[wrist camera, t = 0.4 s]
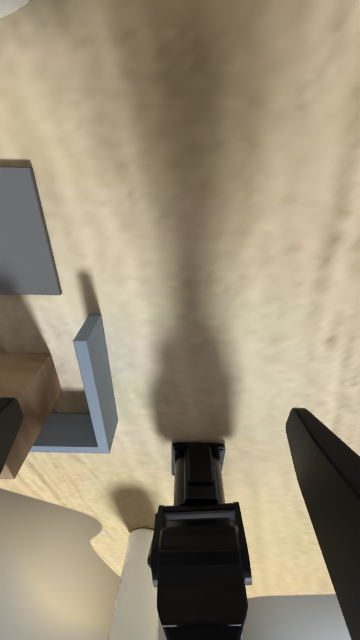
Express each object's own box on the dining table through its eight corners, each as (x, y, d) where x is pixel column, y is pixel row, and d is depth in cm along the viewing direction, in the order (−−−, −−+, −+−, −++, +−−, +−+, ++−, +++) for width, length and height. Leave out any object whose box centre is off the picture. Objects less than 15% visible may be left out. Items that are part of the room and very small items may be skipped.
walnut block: (62, 391, 27) (14, 478, 20) (15, 389, 27) (-52, 477, 20) (50, 353, 25) (-9, 438, 17) (-1, 352, 25) (-85, 436, 17)
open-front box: (117, 420, 30) (109, 453, 26) (-21, 417, 30) (-48, 450, 26) (101, 314, 23) (86, 341, 19) (-82, 310, 22) (-130, 336, 19)
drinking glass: (146, 521, 43) (130, 675, 30) (171, 535, 45) (167, 682, 32) (117, 531, 45) (90, 679, 32) (142, 544, 47) (127, 685, 35)
